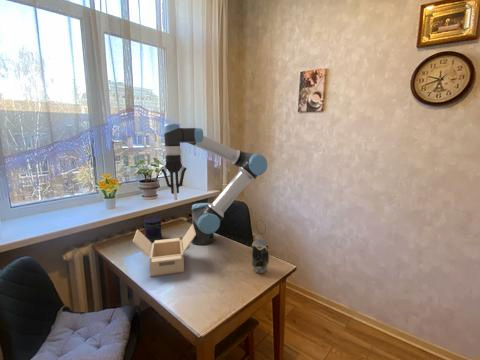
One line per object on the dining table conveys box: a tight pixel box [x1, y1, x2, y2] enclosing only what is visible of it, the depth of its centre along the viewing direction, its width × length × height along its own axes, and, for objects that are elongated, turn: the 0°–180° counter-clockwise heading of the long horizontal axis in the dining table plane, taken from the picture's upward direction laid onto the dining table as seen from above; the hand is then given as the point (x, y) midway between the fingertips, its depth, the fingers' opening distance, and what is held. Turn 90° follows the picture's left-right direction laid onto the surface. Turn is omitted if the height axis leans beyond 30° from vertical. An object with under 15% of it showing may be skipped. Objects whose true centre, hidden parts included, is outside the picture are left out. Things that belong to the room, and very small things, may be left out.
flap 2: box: [182, 224, 196, 253], centre depth 125 cm, size 10×15×1 cm
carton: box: [149, 237, 185, 278], centre depth 124 cm, size 15×25×9 cm, turn 16°
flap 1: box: [132, 229, 152, 257], centre depth 119 cm, size 10×15×1 cm
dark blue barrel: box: [143, 216, 163, 245], centre depth 150 cm, size 10×10×15 cm
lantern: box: [251, 219, 270, 274], centre depth 119 cm, size 9×8×25 cm
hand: (175, 199), depth 131 cm, fingers closed
